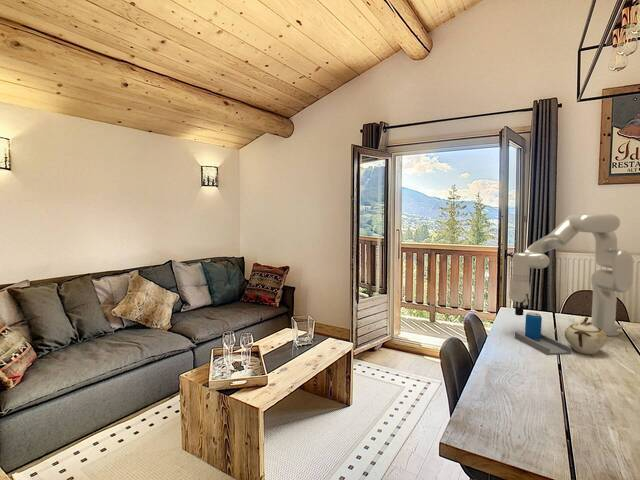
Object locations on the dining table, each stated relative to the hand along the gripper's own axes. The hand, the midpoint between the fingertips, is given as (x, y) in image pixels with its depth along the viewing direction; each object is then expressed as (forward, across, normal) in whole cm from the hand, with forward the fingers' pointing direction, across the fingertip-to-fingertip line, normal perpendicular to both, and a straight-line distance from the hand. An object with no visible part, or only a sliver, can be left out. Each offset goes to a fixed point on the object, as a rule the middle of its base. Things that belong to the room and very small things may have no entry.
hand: (519, 314), depth 184 cm
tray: (+10, +16, 0) cm, 19 cm away
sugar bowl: (+10, +24, +14) cm, 30 cm away
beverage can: (+9, +10, 0) cm, 13 cm away
